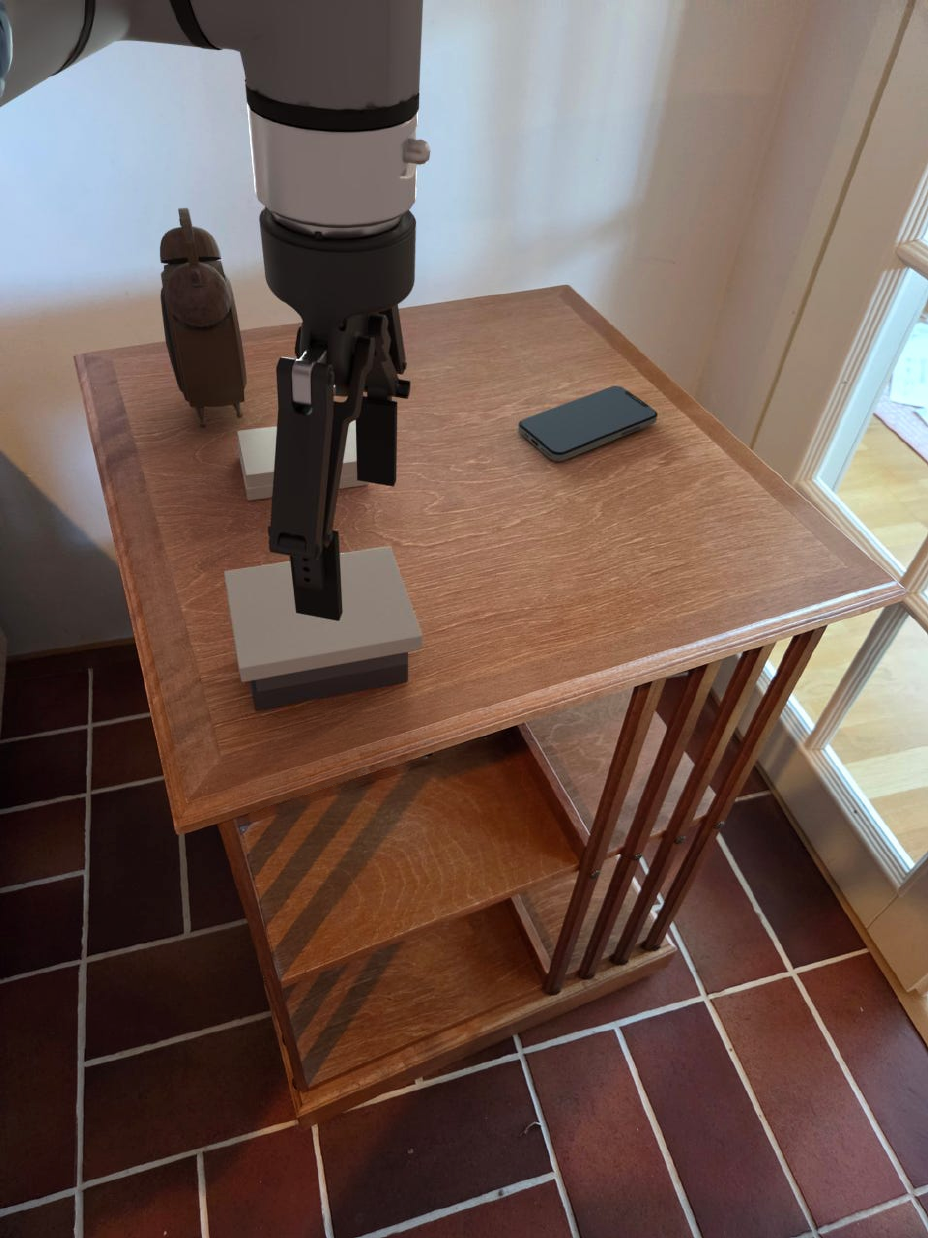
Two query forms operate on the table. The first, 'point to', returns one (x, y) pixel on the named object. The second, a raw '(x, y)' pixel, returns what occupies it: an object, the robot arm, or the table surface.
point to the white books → (260, 461)
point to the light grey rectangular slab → (303, 642)
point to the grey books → (329, 681)
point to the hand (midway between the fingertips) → (350, 541)
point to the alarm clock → (200, 319)
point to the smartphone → (587, 423)
